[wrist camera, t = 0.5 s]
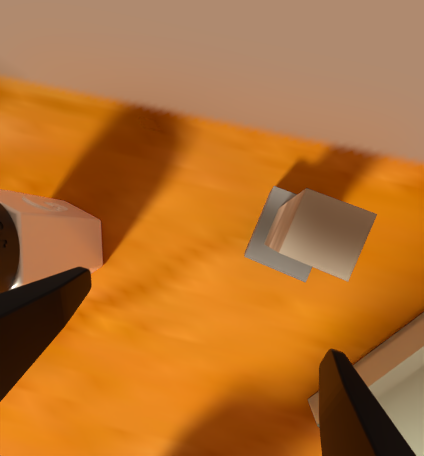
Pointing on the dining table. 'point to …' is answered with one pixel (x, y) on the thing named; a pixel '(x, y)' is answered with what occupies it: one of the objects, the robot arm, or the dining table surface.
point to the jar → (44, 239)
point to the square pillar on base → (309, 234)
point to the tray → (396, 381)
